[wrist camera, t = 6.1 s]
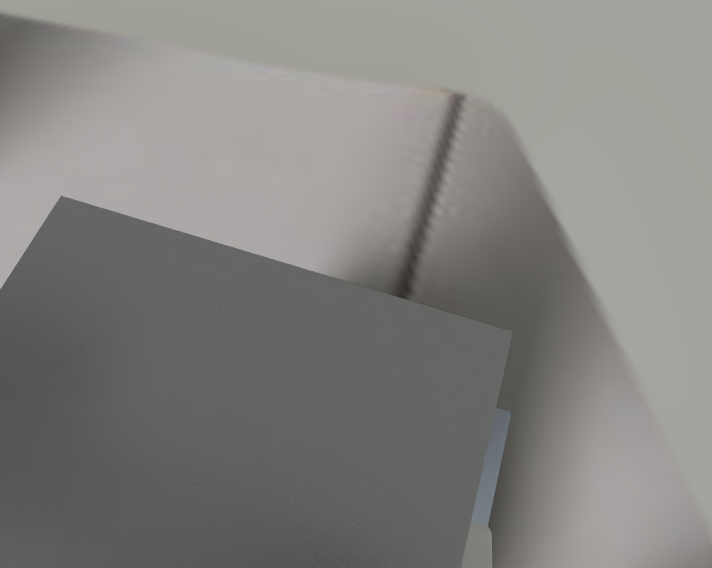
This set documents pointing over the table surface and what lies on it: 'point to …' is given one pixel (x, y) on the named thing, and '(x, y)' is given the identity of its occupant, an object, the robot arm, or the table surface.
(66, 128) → the table surface
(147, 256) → the column
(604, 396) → the table surface
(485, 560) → the robot arm
